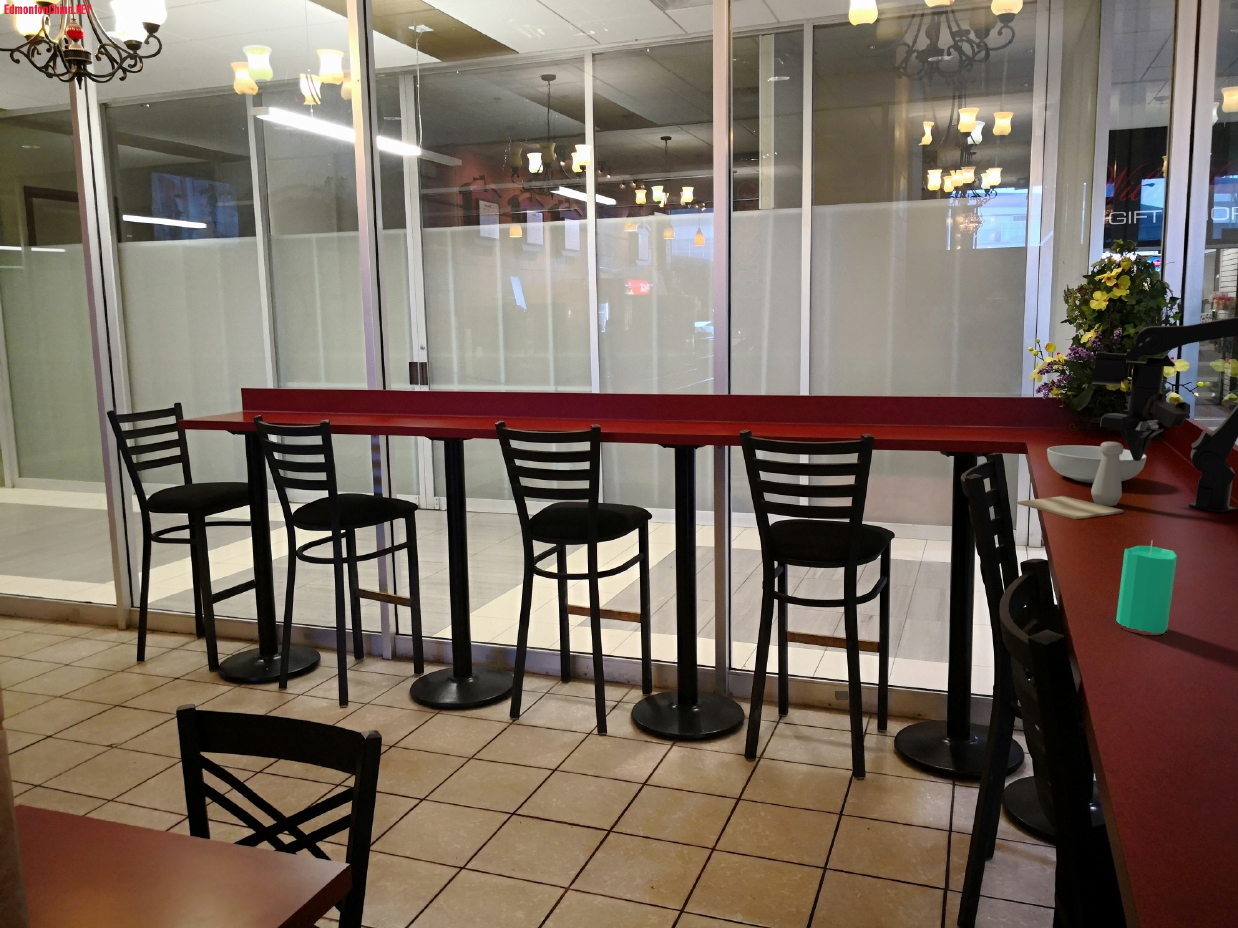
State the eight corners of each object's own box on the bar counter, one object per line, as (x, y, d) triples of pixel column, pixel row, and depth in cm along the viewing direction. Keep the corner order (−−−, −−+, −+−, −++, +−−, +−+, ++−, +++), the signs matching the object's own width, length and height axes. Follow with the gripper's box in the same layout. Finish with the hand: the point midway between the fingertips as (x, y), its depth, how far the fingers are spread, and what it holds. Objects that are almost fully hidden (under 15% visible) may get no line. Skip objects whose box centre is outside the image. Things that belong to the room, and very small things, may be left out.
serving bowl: (1120, 473, 236) (1124, 445, 234) (1159, 491, 215) (1162, 461, 214) (1032, 470, 238) (1035, 442, 236) (1062, 487, 217) (1065, 457, 216)
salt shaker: (1103, 507, 198) (1110, 445, 196) (1083, 501, 204) (1090, 440, 201) (1126, 506, 200) (1134, 444, 197) (1106, 500, 205) (1113, 439, 203)
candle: (1150, 620, 131) (1161, 534, 129) (1176, 636, 125) (1188, 546, 123) (1106, 619, 131) (1117, 534, 128) (1131, 635, 125) (1142, 546, 123)
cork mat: (1063, 498, 206) (1063, 495, 206) (1123, 512, 194) (1123, 510, 194) (1017, 503, 200) (1017, 501, 200) (1075, 519, 187) (1076, 516, 187)
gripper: (1153, 393, 190) (1143, 470, 193) (1211, 390, 198) (1201, 464, 201) (1102, 386, 200) (1094, 460, 203) (1160, 384, 208) (1151, 455, 211)
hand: (1136, 460), depth 204 cm, fingers closed
